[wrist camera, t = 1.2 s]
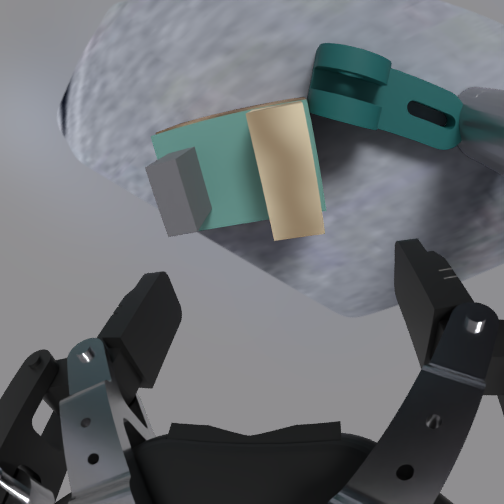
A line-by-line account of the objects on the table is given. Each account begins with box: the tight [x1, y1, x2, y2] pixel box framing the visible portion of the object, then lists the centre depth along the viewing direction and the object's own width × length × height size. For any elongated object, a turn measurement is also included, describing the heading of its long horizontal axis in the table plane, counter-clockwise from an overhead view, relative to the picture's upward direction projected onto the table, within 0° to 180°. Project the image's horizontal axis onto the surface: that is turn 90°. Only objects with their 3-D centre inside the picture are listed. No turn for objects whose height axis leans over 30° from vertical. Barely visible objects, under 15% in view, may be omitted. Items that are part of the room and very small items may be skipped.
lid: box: [145, 99, 326, 237], centre depth 26 cm, size 14×10×7 cm
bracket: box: [307, 43, 463, 150], centre depth 26 cm, size 18×7×8 cm, turn 81°
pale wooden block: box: [246, 101, 325, 241], centre depth 24 cm, size 4×10×4 cm, turn 13°
